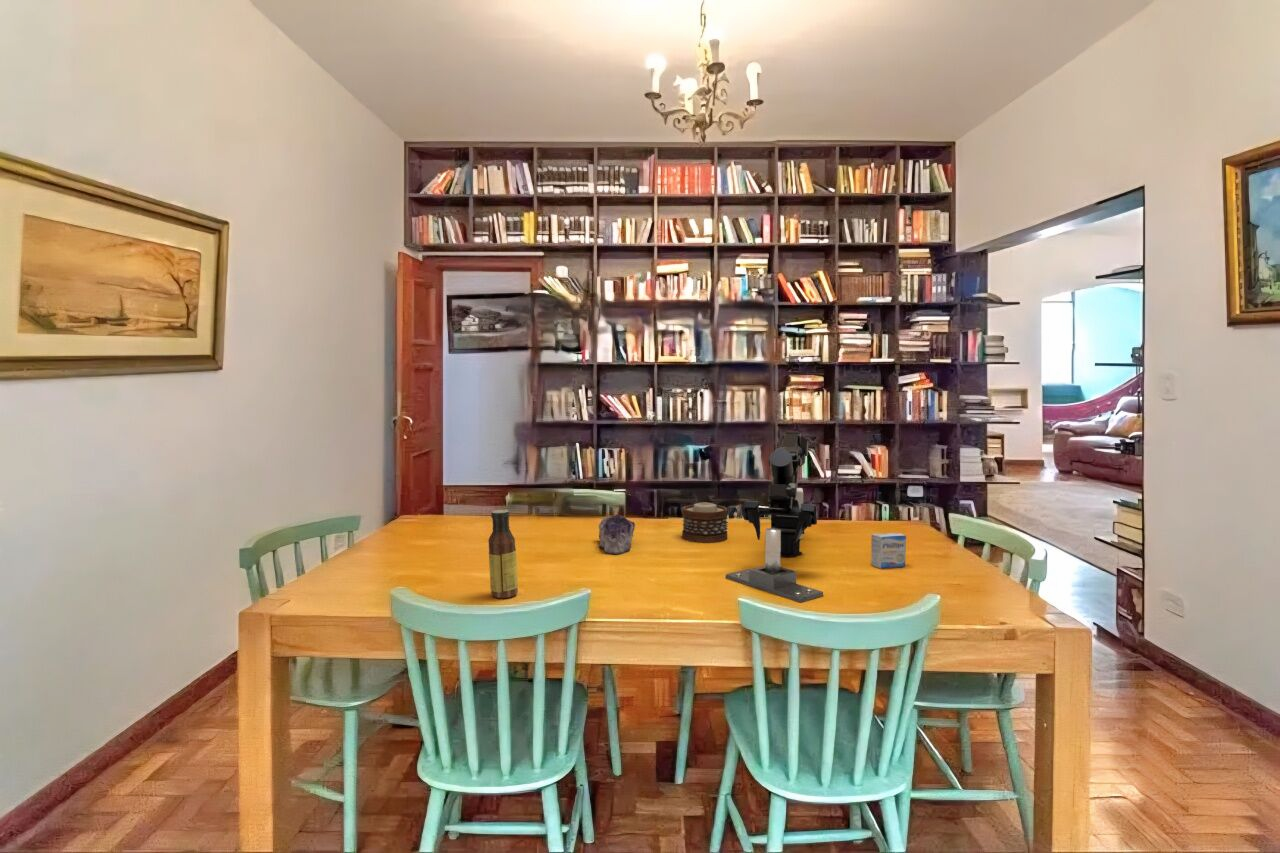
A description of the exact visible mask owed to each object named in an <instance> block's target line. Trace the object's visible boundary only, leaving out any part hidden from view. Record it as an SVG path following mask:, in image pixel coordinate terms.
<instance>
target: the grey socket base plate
mask: <svg viewBox="0 0 1280 853" xmlns="http://www.w3.org/2000/svg"><path fill="white" fill-rule="evenodd" d="M725 579H726V580H730V581H733V582H737V583H739V584H742V585H744V586H749V587H751V588H755V589H758V590H759V591H760V590H761V591H764V592H766V591H767V592H766V593H769V594H773V595H776V596H779V597H783V598H785V599H788V600H791V601H794V602H798V603H804V602H808V601H810V600H814V599H818V598H821V597H824V591H821V590H819V589H815V588H812V587H808V586H806V585H802V584H800V583H797V570H794V569H793V570H792V569H789V568H786V567H783V566H780V573H778V574H774V575H773V574H770V573H767V572H765V565H762V566H759V567H754V568H750V569H749V568H746V569H743V570H738V571H734V572H730V573H729V572H728V573H725Z"/></svg>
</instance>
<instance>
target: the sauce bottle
mask: <svg viewBox="0 0 1280 853" xmlns="http://www.w3.org/2000/svg"><path fill="white" fill-rule="evenodd" d="M491 519H492V532H491V533H490V535H489V538H488V541H487V542H488V563H489V584H490V585H489V586H490V593H491V596H492V597H494V598H496V599H508V598H513V597H516V596H517V595H518V592H519V591H518V590H519V588H518V586H519V583H518V580H519V579H518V569H517V568H518V566H517V565H518V564H517V548H516V540H515V536H514V535H513V533H512V531H511V529H510V521H509V520H510V510H509V509H495V510H492V511H491Z"/></svg>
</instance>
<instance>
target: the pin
mask: <svg viewBox="0 0 1280 853" xmlns="http://www.w3.org/2000/svg"><path fill="white" fill-rule="evenodd" d="M764 548H765V549H764V550H765V552H764V555H765V556H764V561H765V562H764V566H765V572H767V573H770V574H773V575H774V574H778V573H780V567H781V555H780V551H781V530H780V529H777V528H771V527H767V528H766V529H765V547H764Z"/></svg>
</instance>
